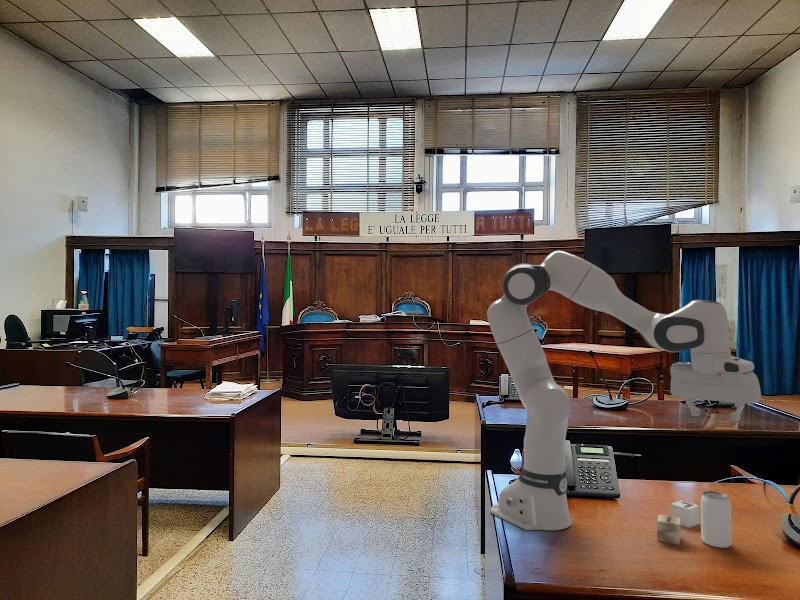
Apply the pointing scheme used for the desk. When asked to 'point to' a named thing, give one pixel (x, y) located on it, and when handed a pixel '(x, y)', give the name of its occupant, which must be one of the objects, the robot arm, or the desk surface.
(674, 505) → the white block
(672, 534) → the birch block
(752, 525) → the desk surface
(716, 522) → the can
